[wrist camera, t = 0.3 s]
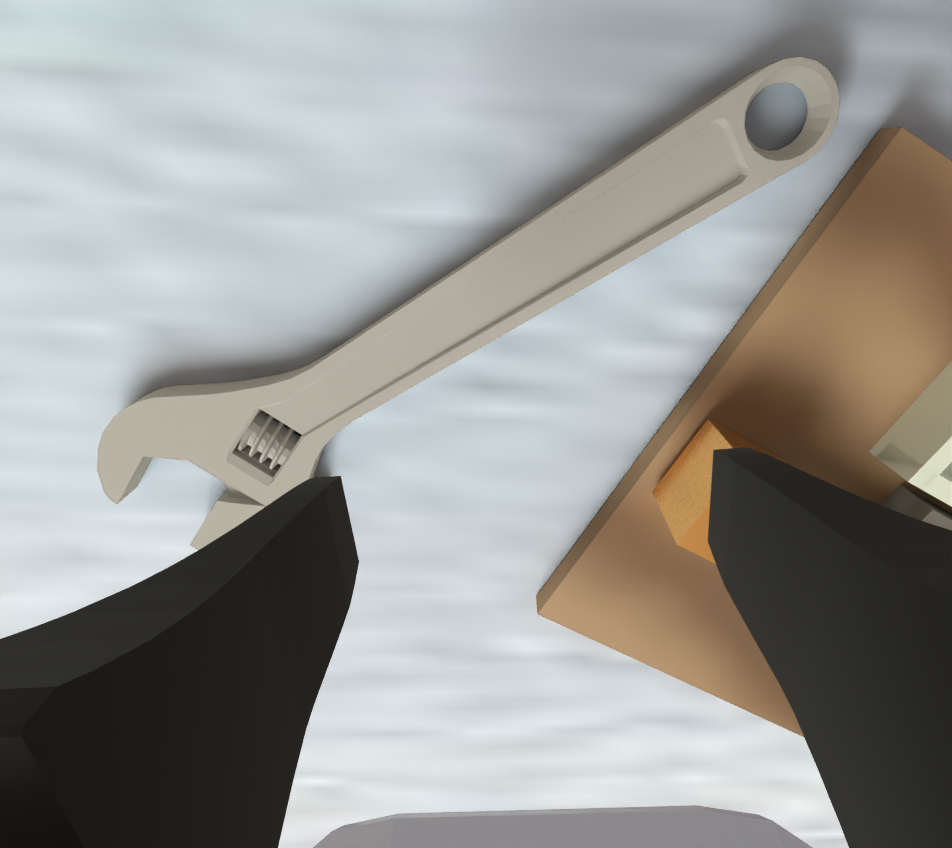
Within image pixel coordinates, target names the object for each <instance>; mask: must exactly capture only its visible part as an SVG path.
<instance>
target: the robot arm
mask: <svg viewBox="0 0 952 848" xmlns="http://www.w3.org/2000/svg"><path fill="white" fill-rule="evenodd" d="M708 543H709V546H710V549H711V552H712V555H713V557H714V560H715V563H716V566H717V568H718V571H719V573H720V576H721V578H722V581H723V583H724V586H725V587H726V589H727V591H728V593H729V595H730V597H731V599H732V600H733V602H734V604H735V606H736V608H737V609H738V611H739V613H740V615H741V617H742V619H743V620H744V622H745V624H746V626H747V627H748V629H749V631H750V633H751V635H752V636H753V638H754V640H755V642H756V643H757V645H758V647H759V649H760V651H761V652H762V654H763V656H764V658H765V659H766V661H767V663H768V665H769V667H770V668H771V670H772V672H773V674H774V675H775V677H776V679H777V681H778V683H779V684H780V686H781V688H782V690H783V692H784V694H785V696H786V698H787V700H788V702H789V704H790V706H791V708H792V710H793V712H794V714H795V717H796V719H797V721H798V724H799V726H800V728H801V731H802V733H803V735H804V738H805V740H806V742H807V745H808V747H809V749H810V751H811V754H812V756H813V758H814V761H815V763H816V765H817V768H818V770H819V773H820V775H821V778H822V780H823V783H824V785H825V788H826V790H827V793H828V795H829V798H830V800H831V803H832V805H833V808H834V810H835V812H836V815H837V817H838V820H839V822H840V825H841V827H842V830H843V833H844V835H845V838H846V841H847V843H848V846H849V848H952V530H948V529H945V528H942V527H939V526H936V525H933V524H930V523H927V522H924V521H921V520H918V519H916V518H913V517H910V516H907V515H905V514H902V513H899V512H897V511H894V510H892V509H889V508H887V507H884V506H882V505H879V504H877V503H874V502H872V501H869V500H867V499H864V498H862V497H860V496H857V495H855V494H853V493H850V492H848V491H846V490H843V489H841V488H839V487H837V486H834V485H832V484H830V483H828V482H826V481H823V480H821V479H819V478H817V477H815V476H813V475H810V474H808V473H806V472H804V471H802V470H800V469H797V468H795V467H793V466H791V465H789V464H787V463H785V462H782V461H780V460H778V459H776V458H773V457H771V456H769V455H767V454H764V453H762V452H759V451H757V450H754V449H751V448H747V447H744V448H730V449H716V450H713V464H712V480H711V496H710V511H709V527H708ZM358 564H359V560H358V555H357V551H356V546H355V541H354V537H353V532H352V527H351V523H350V518H349V513H348V509H347V504H346V499H345V495H344V490H343V485H342V481H341V476H336V477H321V478H310V479H308V480H306V481H304V482H302V483H301V484H299V485H297V486H296V487H294V488H293V489H291V490H290V491H288V492H286V493H285V494H283V495H282V496H281V497H279V498H278V499H276V500H275V501H273V502H272V503H270V504H269V505H267V506H266V507H264V508H263V509H261V510H260V511H259V512H257V513H256V514H254V515H253V516H251V517H250V518H248V519H247V520H245V521H244V522H242V523H241V524H239V525H238V526H236V527H235V528H233V529H232V530H230V531H228V532H227V533H225V534H224V535H222V536H220V537H219V538H217V539H216V540H214V541H213V542H211V543H209V544H208V545H206V546H205V547H203V548H201V549H200V550H198V551H197V552H195V553H193V554H192V555H190V556H188V557H186V558H185V559H183V560H181V561H179V562H178V563H176V564H174V565H172V566H170V567H168V568H167V569H165V570H163V571H161V572H159V573H157V574H155V575H153V576H151V577H149V578H147V579H145V580H143V581H141V582H139V583H137V584H135V585H133V586H131V587H129V588H127V589H125V590H122V591H120V592H118V593H115V594H113V595H111V596H109V597H106V598H104V599H102V600H100V601H97V602H95V603H93V604H90V605H88V606H86V607H84V608H81V609H79V610H77V611H75V612H72V613H70V614H67V615H65V616H62V617H60V618H57V619H54V620H52V621H49V622H46V623H44V624H41V625H39V626H36V627H33V628H31V629H28V630H25V631H22V632H19V633H16V634H14V635H11V636H8V637H5V638H2V639H0V848H278V845H279V840H280V836H281V831H282V827H283V822H284V818H285V814H286V809H287V805H288V800H289V796H290V792H291V787H292V783H293V779H294V775H295V771H296V767H297V763H298V759H299V755H300V751H301V747H302V743H303V739H304V735H305V731H306V728H307V724H308V721H309V718H310V715H311V712H312V709H313V706H314V703H315V700H316V698H317V695H318V692H319V689H320V687H321V684H322V681H323V679H324V676H325V673H326V670H327V668H328V665H329V662H330V660H331V657H332V654H333V651H334V649H335V646H336V643H337V641H338V638H339V635H340V632H341V629H342V627H343V624H344V621H345V618H346V615H347V612H348V610H349V607H350V603H351V598H352V594H353V589H354V585H355V580H356V574H357V569H358ZM313 848H812V847H811V846H809V845H808V844H806V843H805V842H803V841H802V840H800V839H799V838H797V837H796V836H794V835H793V834H791V833H790V832H788V831H787V830H785V829H784V828H782V827H781V826H779V825H778V824H776V823H775V822H773V821H772V820H769V819H767V818H765V817H762V816H760V815H756V814H750V813H743V812H736V811H729V810H723V809H716V808H709V807H702V806H661V807H625V808H588V809H552V810H515V811H478V812H442V813H405V814H395V815H390V816H386V817H381V818H377V819H372V820H367V821H363V822H358V823H353V824H349V825H344V826H342V827H340V828H338V829H336V830H334V831H332V832H331V833H330V834H328V835H327V836H326V837H325V838H324V839H323V840H321V841H320V842H319V843H318V844H317V845H316V846H314V847H313Z"/></svg>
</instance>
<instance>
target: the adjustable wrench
mask: <svg viewBox="0 0 952 848" xmlns="http://www.w3.org/2000/svg"><path fill="white" fill-rule="evenodd" d="M781 82H786V83H790V84H794V85H795V86H796V87H798V88H799V89H800V90H801V91H802V93H803V95H804V96H805V100H806V105H807V114H806V121H805V124H804V126H803V129H802V131H801V133H800V134H799V135H798V137H797V138H796V139H795V140H794V141H793V142H791V143H790V144H789V145H788V146H785V147H783V148H781V149H779V150H770V151H768V150H764V149H760V148H758V147H757V146H755V145H754V144H753V143H752V142H751V141H750V139H749V137H748V136H747V133H746V128H745V116H746V112H747V110H748V107H749V104H750V103H751V101H752V100H753V98H754V97H755V96H756V94H758V93H759V92H760V91H761V90H762V89H763V88H765V87H767V86H769V85H771V84H774V83H781ZM839 104H840V98H839V93H838V87H837V83H836V81H835V80H834V78H833V76H832V75H831V73H830V71H829V70H828V69H827V68H825V67H824V66H823V65H822V64H820V63H819V62H818V61H815V60H812V59H808V58H804V57H796V58H787V59H783V60H780V61H778V62H775V63H773V64H770V65H768V66H765V67H763V68H761V69H759V70H757V71H755V72H752V73H751V74H749V75H748V76H746V77H745V78H743V79H742V80H740V81H739V82H737V83H736V84H734V85H733V86H731V87H730V88H728V89H727V90H725V91H724V92H722V93H721V94H719V95H718V96H716V97H715V98H713V99H712V100H710V101H709V102H707V103H706V104H704V105H703V106H701V107H700V108H698V109H697V110H695V111H694V112H692V113H690V114H689V115H687V116H686V117H684V118H683V119H681V120H680V121H678V122H677V123H675V124H674V125H672V126H671V127H669V128H668V129H666V130H665V131H663V132H662V133H660V134H659V135H657V136H656V137H654V138H653V139H651V140H650V141H648V142H647V143H645V144H644V145H642V146H641V147H639V148H638V149H636V150H635V151H633V152H632V153H630V154H629V155H627V156H625V157H624V158H622V159H621V160H619V161H618V162H616V163H615V164H613V165H612V166H610V167H609V168H607V169H606V170H604V171H603V172H601V173H600V174H598V175H597V176H595V177H594V178H592V179H591V180H589V181H588V182H586V183H585V184H583V185H582V186H580V187H579V188H577V189H576V190H574V191H573V192H571V193H570V194H568V195H567V196H565V197H564V198H562V199H560V200H559V201H557V202H556V203H554V204H553V205H551V206H550V207H548V208H547V209H545V210H544V211H542V212H541V213H539V214H538V215H536V216H535V217H533V218H532V219H530V220H529V221H527V222H526V223H524V224H523V225H521V226H520V227H518V228H517V229H515V230H514V231H512V232H511V233H509V234H508V235H506V236H505V237H503V238H502V239H500V240H499V241H497V242H495V243H494V244H492V245H491V246H489V247H488V248H486V249H485V250H483V251H482V252H480V253H479V254H477V255H476V256H474V257H473V258H471V259H470V260H468V261H467V262H465V263H464V264H462V265H461V266H459V267H458V268H456V269H455V270H453V271H452V272H450V273H449V274H447V275H446V276H444V277H443V278H441V279H440V280H438V281H437V282H435V283H434V284H432V285H430V286H429V287H427V288H426V289H424V290H423V291H421V292H420V293H418V294H417V295H415V296H414V297H412V298H411V299H409V300H408V301H406V302H405V303H403V304H402V305H400V306H399V307H397V308H396V309H394V310H393V311H391V312H390V313H388V314H387V315H385V316H384V317H382V318H381V319H379V320H378V321H376V322H375V323H373V324H372V325H370V326H369V327H367V328H365V329H364V330H362V331H361V332H359V333H358V334H356V335H355V336H353V337H352V338H350V339H349V340H347V341H346V342H344V343H343V344H341V345H340V346H338V347H337V348H335V349H334V350H332V351H331V352H329V353H328V354H326V355H325V356H323V357H322V358H320V359H318V360H316V361H314V362H312V363H310V364H308V365H306V366H304V367H302V368H299V369H295V370H292V371H288V372H285V373H282V374H277V375H271V376H266V377H260V378H254V379H249V380H242V381H234V382H225V383H207V384H189V385H172V386H168V387H164V388H160V389H158V390H155V391H153V392H151V393H149V394H147V395H145V396H144V397H142V398H140V399H139V400H137V401H135V402H134V403H132V404H131V405H129V406H128V407H126V408H124V409H123V410H121V411H120V412H119V413H118V414H117V415H116V416H114V417H113V419H112V420H111V422H110V423H109V425H108V426H107V427H106V429H105V430H104V432H103V433H102V437H101V440H100V443H99V447H98V464H97V472H98V475H99V478H100V481H101V484H102V487H103V490H104V493H105V494H106V495H107V497H108V498H109V499H110V500H112V501H113V502H114V503H116V504H118V503H119V502H120V501H121V500H123V499H124V498H125V497H126V496H127V495H128V494H129V493H131V492H132V491H133V490H134V489H135V488H136V487H137V486H138V484H139V482H140V480H141V478H142V477H143V475H144V473H145V471H146V469H147V467H148V466H149V464H150V462H151V460H152V458H153V457H154V458H166V459H177V460H188V461H190V462H191V463H193V464H195V465H196V466H198V467H199V468H201V469H203V470H204V471H206V472H208V473H209V474H211V475H213V476H214V477H216V478H218V479H220V480H221V481H223V482H224V484H225V486H226V487H227V490H226V491H225V492H224V493H223V494H222V496H221V497H220V498H219V499H218V500H217V502H216V503H215V505H214V507H213V508H212V510H211V511H210V513H209V515H208V516H207V518H206V519H205V521H204V523H203V524H202V526H201V528H200V529H199V531H198V532H197V534H196V536H195V537H194V539H193V540H192V542H191V544H190V545H191V546H192V547H194V548H196V549H197V550H200V549H201V548H203V547H205V546H206V545H208V544H209V543H211V542H213V541H214V540H216V539H217V538H219V537H220V536H222V535H224V534H225V533H227V532H228V531H230V530H232V529H233V528H235V527H236V526H238V525H239V524H241V523H242V522H244V521H245V520H247V519H248V518H250V517H251V516H253V515H254V514H256V513H257V512H259V511H260V510H261V509H263V508H264V507H266V506H267V505H269V504H270V503H272V502H273V501H275V500H276V499H278V498H279V497H281V496H282V495H283V494H285V493H286V492H288V491H290V490H291V489H293V488H294V487H296V486H297V485H299V484H301V483H302V482H304V481H306V480H308V479H310V478H314V474H315V470H316V468H317V465H318V462H319V459H320V457H321V454H322V451H323V448H324V446H325V445H326V443H327V442H328V441H329V440H330V439H331V438H332V437H333V436H334V435H335V434H336V433H337V432H339V431H340V430H341V429H343V428H344V427H345V426H347V425H348V424H350V423H351V422H352V421H354V420H356V419H357V418H359V417H361V416H363V415H364V414H366V413H368V412H370V411H371V410H373V409H375V408H376V407H378V406H380V405H382V404H383V403H385V402H387V401H389V400H390V399H392V398H394V397H396V396H397V395H399V394H401V393H403V392H404V391H406V390H408V389H410V388H411V387H413V386H415V385H417V384H418V383H420V382H422V381H423V380H425V379H427V378H429V377H430V376H432V375H434V374H436V373H437V372H439V371H441V370H443V369H444V368H446V367H448V366H450V365H451V364H453V363H455V362H457V361H458V360H460V359H462V358H464V357H465V356H467V355H469V354H471V353H472V352H474V351H476V350H477V349H479V348H481V347H483V346H484V345H486V344H488V343H490V342H491V341H493V340H495V339H497V338H498V337H500V336H502V335H504V334H505V333H507V332H509V331H511V330H512V329H514V328H516V327H518V326H519V325H521V324H523V323H524V322H526V321H528V320H530V319H531V318H533V317H535V316H537V315H538V314H540V313H542V312H544V311H545V310H547V309H549V308H551V307H552V306H554V305H556V304H558V303H559V302H561V301H563V300H565V299H566V298H568V297H570V296H571V295H573V294H575V293H577V292H578V291H580V290H582V289H584V288H585V287H587V286H589V285H591V284H592V283H594V282H596V281H598V280H599V279H601V278H603V277H605V276H606V275H608V274H610V273H612V272H613V271H615V270H617V269H619V268H620V267H622V266H624V265H625V264H627V263H629V262H631V261H632V260H634V259H636V258H638V257H639V256H641V255H643V254H645V253H646V252H648V251H650V250H652V249H653V248H655V247H657V246H659V245H660V244H662V243H664V242H666V241H667V240H669V239H671V238H672V237H674V236H676V235H678V234H679V233H681V232H683V231H685V230H686V229H688V228H690V227H692V226H693V225H695V224H697V223H699V222H700V221H702V220H704V219H706V218H707V217H709V216H711V215H713V214H714V213H716V212H718V211H720V210H721V209H723V208H725V207H726V206H728V205H730V204H732V203H733V202H735V201H737V200H739V199H740V198H742V197H744V196H746V195H747V194H749V193H751V192H753V191H754V190H756V189H758V188H760V187H761V186H763V185H765V184H767V183H768V182H770V181H772V180H773V179H775V178H777V177H779V176H780V175H782V174H784V173H786V172H787V171H789V170H791V169H793V168H794V167H796V166H798V165H800V164H801V163H803V162H805V161H806V160H808V159H809V158H810V157H811V156H813V155H814V154H815V153H816V152H818V151H819V150H820V149H821V147H822V146H823V145H824V143H825V142H826V141H827V139H828V138H829V137H830V135H831V133H832V131H833V128H834V126H835V123H836V121H837V119H838V112H839ZM262 411H264V412H266V413H267V414H269V416H268V415H266V414H265V413H263V412H262ZM274 418H276V419H277V420H279V422H277V421H276V420H274ZM284 424H285V425H287V426H288V427H289V428H286V427H285V426H284ZM294 430H295V431H297V432H298V433H300V434H301V435H302V436H301V437H300V436H299V435H297V434H295V433H294Z"/></svg>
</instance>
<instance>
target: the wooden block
mask: <svg viewBox="0 0 952 848" xmlns="http://www.w3.org/2000/svg"><path fill="white" fill-rule="evenodd" d="M744 447H747V448H751V449H754V450H757V451H759V452H762V453H764V454H767V455H769V456H771V457H773V458H776V459H778V460H780V461H782V462H785V461H784V460H782V459H781V458H779V457H777V456H775V455H773V454H771V453H770V452H768V451H766V450H764V449H762V448H761V447H759V446H757V445H755V444H753V443H752V442H750V441H748V440H746V439H744V438H742V437H741V436H739V435H737V434H735V433H733V432H732V431H730V430H728V429H726V428H724V427H722V426H721V425H719V424H717V423H715V422H713V421H712V420H710V419H707V421H706V422H705V423H704V425H703V426H702V427H701V429H700V430H699V431H698V432H697V434H696V435H695V436H694V438H693V439H692V440H691V442H690V443H689V444H688V445H687V447H686V448H685V449H684V451H683V452H682V453H681V455H680V456H679V457H678V459H677V460H676V461H675V462H674V464H673V465H672V466H671V468H670V469H669V470H668V472H667V473H666V474H665V475H664V477H663V478H662V479H661V481H660V482H659V483H658V485H657V486H656V487H655V489H654V490H653V491H652V493H653V495H654V497H655V499H656V501H657V503H658V505H659V507H660V510H661V512H662V514H663V516H664V518H665V520H666V522H667V524H668V527H669V529H670V531H671V533H672V535H673V537H674V539H675V541H676V544H677V545H679V546H681V547H683V548H685V549H687V550H689V551H691V552H693V553H695V554H697V555H699V556H701V557H703V558H705V559H707V560H709V561H711V562H713V563H715V560H714V557H713V555H712V552H711V549H710V546H709V543H708V527H709V511H710V496H711V480H712V464H713V450H716V449H730V448H744ZM785 463H786V462H785ZM715 564H716V563H715Z"/></svg>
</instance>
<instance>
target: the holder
mask: <svg viewBox="0 0 952 848" xmlns="http://www.w3.org/2000/svg"><path fill="white" fill-rule="evenodd" d="M951 361H952V161H951V160H949V159H948V158H946V157H945V156H943V155H942V154H940V153H939V152H938V151H936V150H935V149H933V148H932V147H930V146H929V145H927V144H926V143H925V142H923V141H922V140H920V139H919V138H917V137H916V136H914V135H913V134H911V133H910V132H909V131H907V130H906V129H904V128H903V127H898V128H888V129H880V130H879V131H878V132H877V134H876V135H875V136H874V138H873V139H872V140H871V142H870V143H869V145H868V146H867V147H866V149H865V150H864V151H863V153H862V154H861V155H860V157H859V158H858V159H857V161H856V162H855V164H854V165H853V166H852V168H851V169H850V170H849V172H848V173H847V174H846V176H845V177H844V178H843V180H842V181H841V183H840V184H839V185H838V187H837V188H836V189H835V191H834V192H833V193H832V195H831V196H830V198H829V199H828V200H827V202H826V203H825V204H824V206H823V207H822V208H821V210H820V211H819V212H818V214H817V215H816V217H815V218H814V219H813V221H812V222H811V223H810V225H809V226H808V227H807V229H806V230H805V232H804V233H803V234H802V236H801V237H800V238H799V240H798V241H797V242H796V244H795V245H794V246H793V248H792V249H791V251H790V252H789V253H788V255H787V256H786V257H785V259H784V260H783V261H782V263H781V264H780V266H779V267H778V268H777V270H776V271H775V272H774V274H773V275H772V276H771V278H770V279H769V280H768V282H767V283H766V285H765V286H764V287H763V289H762V290H761V291H760V293H759V294H758V295H757V297H756V298H755V300H754V301H753V302H752V304H751V305H750V306H749V308H748V309H747V310H746V312H745V313H744V314H743V316H742V317H741V319H740V320H739V321H738V323H737V324H736V325H735V327H734V328H733V329H732V331H731V332H730V333H729V335H728V336H727V338H726V339H725V340H724V342H723V343H722V344H721V346H720V347H719V348H718V350H717V351H716V353H715V354H714V355H713V357H712V358H711V359H710V361H709V362H708V363H707V365H706V366H705V367H704V369H703V370H702V372H701V373H700V374H699V376H698V377H697V378H696V380H695V381H694V382H693V384H692V385H691V387H690V388H689V389H688V391H687V392H686V393H685V395H684V396H683V397H682V399H681V400H680V401H679V403H678V404H677V406H676V407H675V408H674V410H673V411H672V412H671V414H670V415H669V416H668V418H667V419H666V421H665V422H664V423H663V425H662V426H661V427H660V429H659V430H658V431H657V433H656V434H655V435H654V437H653V438H652V440H651V441H650V442H649V444H648V445H647V446H646V448H645V449H644V450H643V452H642V453H641V455H640V456H639V457H638V459H637V460H636V461H635V463H634V464H633V465H632V467H631V468H630V469H629V471H628V472H627V474H626V475H625V476H624V478H623V479H622V480H621V482H620V483H619V484H618V486H617V487H616V488H615V490H614V491H613V493H612V494H611V495H610V497H609V498H608V499H607V501H606V502H605V503H604V505H603V506H602V508H601V509H600V510H599V512H598V513H597V514H596V516H595V517H594V518H593V520H592V521H591V522H590V524H589V525H588V527H587V528H586V529H585V531H584V532H583V533H582V535H581V536H580V537H579V539H578V540H577V542H576V543H575V544H574V546H573V547H572V548H571V550H570V551H569V552H568V554H567V555H566V556H565V558H564V559H563V561H562V562H561V563H560V565H559V566H558V567H557V569H556V570H555V571H554V573H553V574H552V576H551V577H550V578H549V580H548V581H547V582H546V584H545V585H544V586H543V588H542V589H541V590H540V592H539V593H538V595H537V596H536V601H537V612H538V615H541V616H543V617H545V618H547V619H549V620H551V621H554V622H556V623H558V624H560V625H562V626H564V627H567V628H569V629H571V630H573V631H575V632H577V633H580V634H582V635H584V636H586V637H588V638H590V639H593V640H595V641H597V642H599V643H601V644H603V645H606V646H608V647H610V648H612V649H614V650H616V651H619V652H621V653H623V654H625V655H627V656H629V657H632V658H634V659H636V660H638V661H640V662H642V663H645V664H647V665H649V666H651V667H653V668H655V669H658V670H660V671H662V672H664V673H666V674H668V675H671V676H673V677H675V678H677V679H679V680H681V681H684V682H686V683H688V684H690V685H692V686H694V687H697V688H699V689H701V690H703V691H705V692H707V693H710V694H712V695H714V696H716V697H718V698H720V699H723V700H725V701H727V702H729V703H731V704H734V705H736V706H738V707H740V708H742V709H744V710H747V711H749V712H751V713H753V714H755V715H757V716H760V717H762V718H764V719H766V720H768V721H770V722H773V723H775V724H777V725H779V726H781V727H783V728H786V729H788V730H790V731H792V732H794V733H796V734H799V735H801V736H803V737H804V735H803V733H802V731H801V728H800V726H799V724H798V721H797V719H796V717H795V714H794V712H793V710H792V708H791V706H790V704H789V702H788V700H787V698H786V696H785V694H784V692H783V690H782V688H781V686H780V684H779V683H778V681H777V679H776V677H775V675H774V674H773V672H772V670H771V668H770V667H769V665H768V663H767V661H766V659H765V658H764V656H763V654H762V652H761V651H760V649H759V647H758V645H757V643H756V642H755V640H754V638H753V636H752V635H751V633H750V631H749V629H748V627H747V626H746V624H745V622H744V620H743V619H742V617H741V615H740V613H739V611H738V609H737V608H736V606H735V604H734V602H733V600H732V599H731V597H730V595H729V593H728V591H727V589H726V587H725V586H724V583H723V581H722V578H721V576H720V573H719V571H718V568H717V566H716V564H715V563H713V562H711V561H709V560H707V559H705V558H703V557H701V556H699V555H697V554H695V553H693V552H691V551H689V550H687V549H685V548H683V547H681V546H679V545H677V544H676V541H675V539H674V537H673V535H672V533H671V531H670V529H669V527H668V524H667V522H666V520H665V518H664V516H663V514H662V512H661V510H660V507H659V505H658V503H657V501H656V499H655V497H654V495H653V493H652V491H653V490H654V489H655V487H656V486H657V485H658V483H659V482H660V481H661V479H662V478H663V477H664V475H665V474H666V473H667V472H668V470H669V469H670V468H671V466H672V465H673V464H674V462H675V461H676V460H677V459H678V457H679V456H680V455H681V453H682V452H683V451H684V449H685V448H686V447H687V445H688V444H689V443H690V442H691V440H692V439H693V438H694V436H695V435H696V434H697V432H698V431H699V430H700V429H701V427H702V426H703V425H704V423H705V422H706V421H707V419H710V420H712V421H713V422H715V423H717V424H719V425H721V426H722V427H724V428H726V429H728V430H730V431H732V432H733V433H735V434H737V435H739V436H741V437H742V438H744V439H746V440H748V441H750V442H752V443H753V444H755V445H757V446H759V447H761V448H762V449H764V450H766V451H768V452H770V453H771V454H773V455H775V456H777V457H779V458H781V459H782V460H784V461H785V462H786V463H787V464H789V465H791V466H793V467H795V468H797V469H800V470H802V471H804V472H806V473H808V474H810V475H813V476H815V477H817V478H819V479H821V480H823V481H826V482H828V483H830V484H832V485H834V486H837V487H839V488H841V489H843V490H846V491H848V492H850V493H853V494H855V495H857V496H860V497H862V498H864V499H867V500H869V501H872V502H874V503H877V504H879V505H882V506H884V507H887V508H889V509H892V510H894V511H897V512H899V513H902V514H905V515H907V516H910V517H913V518H916V519H918V520H921V521H924V522H927V523H930V524H933V525H936V526H939V527H942V528H945V529H948V530H952V507H951V506H950V505H948V504H946V503H944V502H943V501H941V500H939V499H937V498H935V497H934V496H932V495H930V494H928V493H927V492H925V491H923V490H921V489H920V488H918V487H916V486H914V485H913V484H911V483H909V482H907V481H906V480H905V479H904V478H902V477H901V476H900V475H898V474H897V473H896V472H894V471H893V470H892V469H891V468H889V467H888V466H887V465H885V464H884V463H883V462H881V461H880V460H879V459H878V458H876V457H875V456H874V455H872V454H871V453H870V452H869V451H870V450H871V449H872V447H873V446H874V445H875V444H876V443H877V442H878V441H879V440H880V439H881V438H882V437H883V435H884V434H885V433H886V432H887V431H888V430H889V429H890V428H891V427H892V426H893V424H894V423H895V422H896V421H897V420H898V419H899V418H900V417H901V416H902V415H903V414H904V412H905V411H906V410H907V409H908V408H909V407H910V406H911V405H912V404H913V403H914V401H915V400H916V399H917V398H918V397H919V396H920V395H921V394H922V393H923V392H924V390H925V389H926V388H927V387H928V386H929V385H930V384H931V383H932V382H933V381H934V380H935V378H936V377H937V376H938V375H939V374H940V373H941V372H942V371H943V370H944V369H945V367H946V366H947V365H948V364H949V363H950V362H951Z"/></svg>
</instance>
